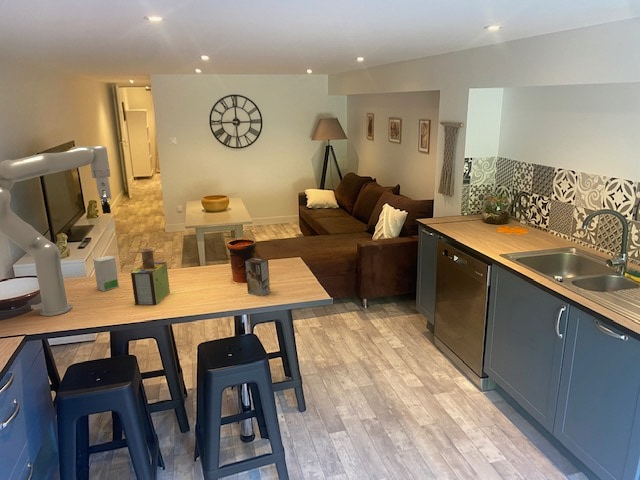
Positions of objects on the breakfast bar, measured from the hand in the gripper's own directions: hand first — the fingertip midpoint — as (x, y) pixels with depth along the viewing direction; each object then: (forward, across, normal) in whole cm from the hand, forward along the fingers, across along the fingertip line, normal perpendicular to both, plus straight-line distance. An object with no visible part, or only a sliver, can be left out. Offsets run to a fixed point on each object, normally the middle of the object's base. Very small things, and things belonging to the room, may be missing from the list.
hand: (106, 211), depth 217 cm
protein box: (+41, -14, -14) cm, 45 cm away
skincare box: (+40, +11, +4) cm, 42 cm away
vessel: (+40, -10, -59) cm, 72 cm away
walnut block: (+25, -14, -14) cm, 32 cm away
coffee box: (+40, -31, -60) cm, 79 cm away
